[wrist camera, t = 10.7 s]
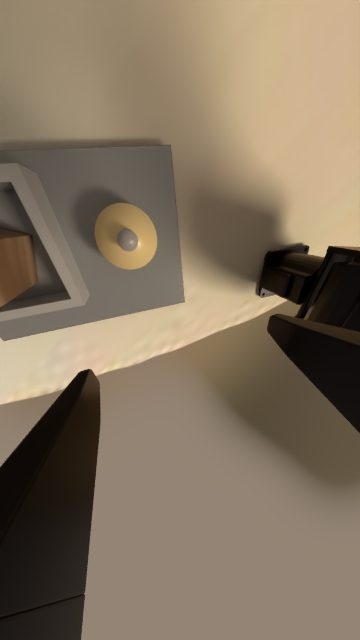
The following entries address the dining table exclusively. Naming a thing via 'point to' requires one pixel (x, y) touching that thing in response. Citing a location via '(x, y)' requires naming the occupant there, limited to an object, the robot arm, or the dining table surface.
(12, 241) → the wooden block
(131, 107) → the dining table surface
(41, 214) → the housing
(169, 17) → the dining table surface
